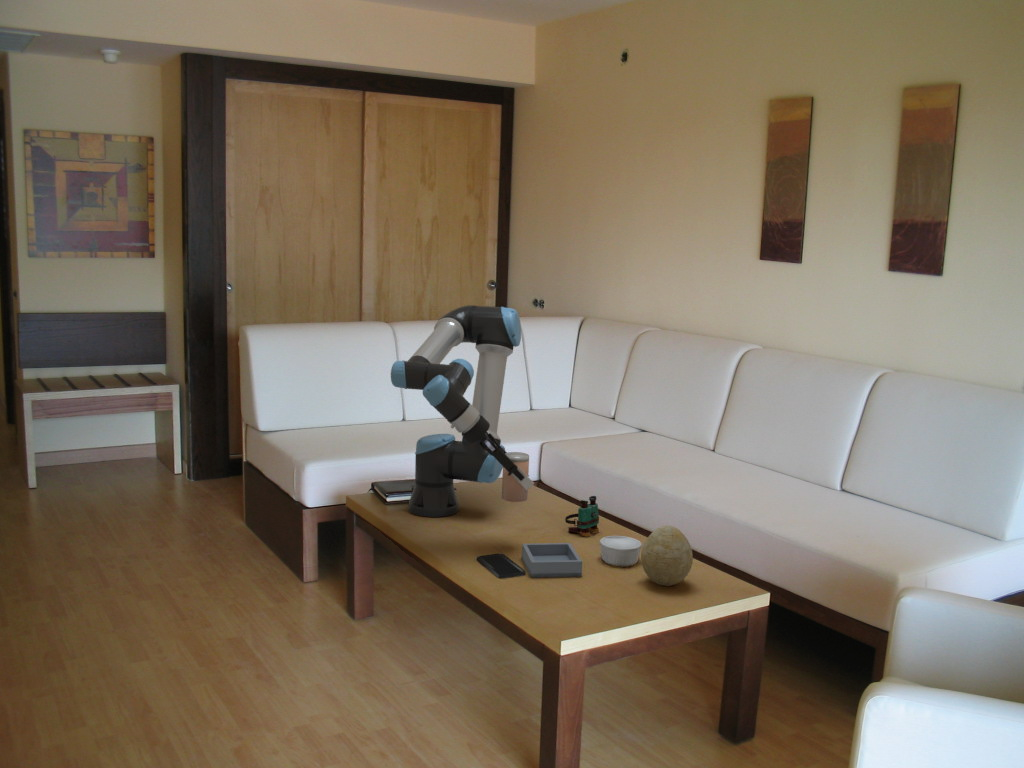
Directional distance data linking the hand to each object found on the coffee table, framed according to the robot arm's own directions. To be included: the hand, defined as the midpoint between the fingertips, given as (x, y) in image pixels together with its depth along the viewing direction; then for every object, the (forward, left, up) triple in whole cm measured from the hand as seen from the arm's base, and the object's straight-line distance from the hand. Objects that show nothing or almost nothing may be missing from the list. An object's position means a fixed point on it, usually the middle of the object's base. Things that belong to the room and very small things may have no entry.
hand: (527, 482), depth 258 cm
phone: (+15, -9, -19) cm, 26 cm away
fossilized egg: (+29, +30, -18) cm, 46 cm away
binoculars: (-12, +18, -18) cm, 29 cm away
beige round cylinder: (0, -4, -4) cm, 6 cm away
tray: (+16, +4, -18) cm, 25 cm away
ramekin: (+12, +23, -19) cm, 32 cm away
